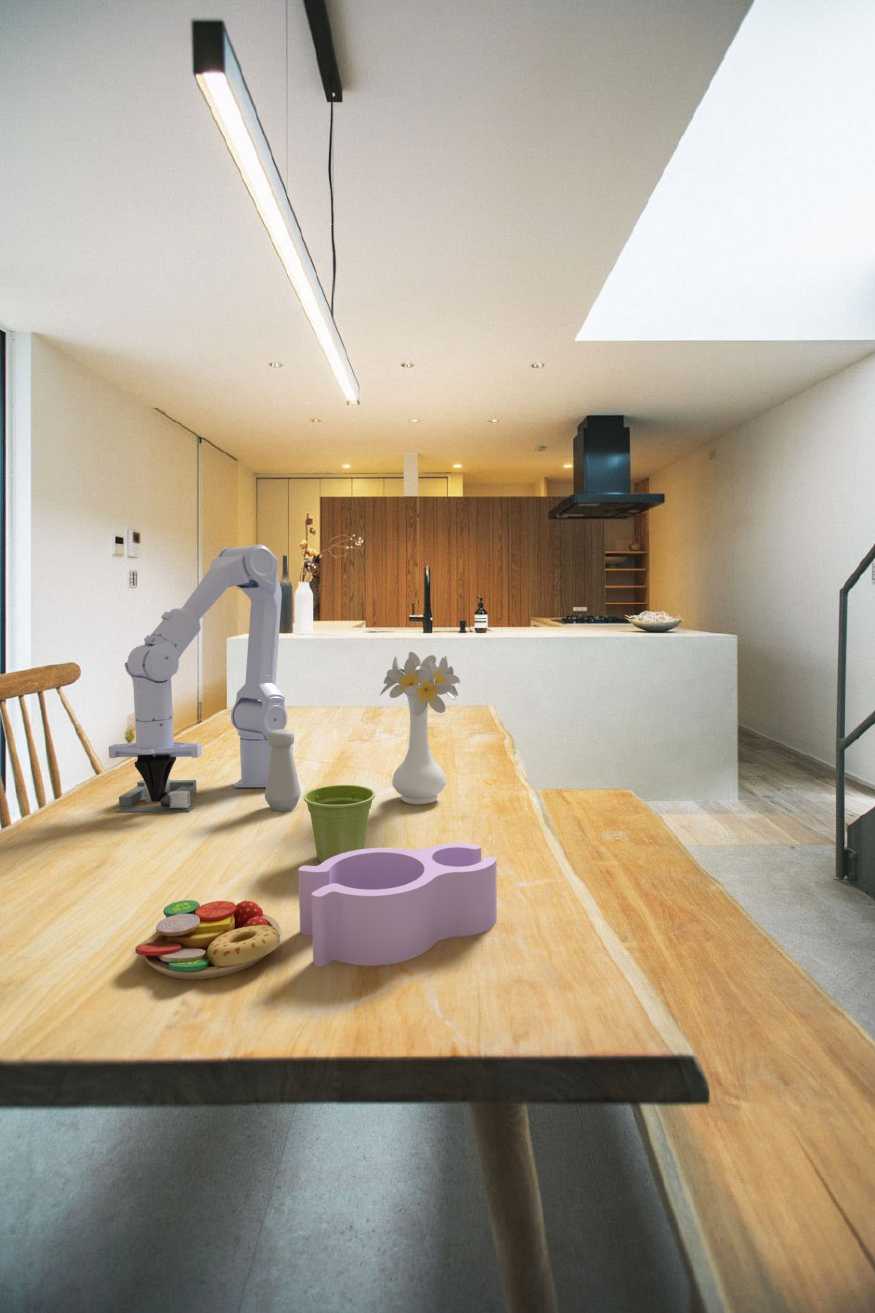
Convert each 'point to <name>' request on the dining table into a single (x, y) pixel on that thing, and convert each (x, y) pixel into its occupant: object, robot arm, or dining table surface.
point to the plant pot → (339, 818)
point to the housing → (139, 793)
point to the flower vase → (420, 724)
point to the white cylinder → (147, 796)
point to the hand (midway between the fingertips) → (157, 800)
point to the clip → (395, 901)
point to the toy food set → (210, 939)
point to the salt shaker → (282, 773)
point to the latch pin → (176, 799)
